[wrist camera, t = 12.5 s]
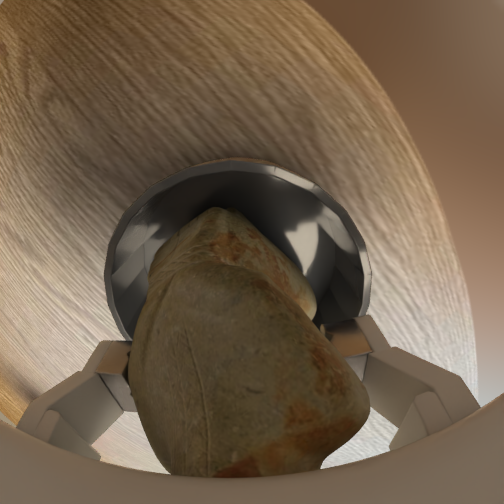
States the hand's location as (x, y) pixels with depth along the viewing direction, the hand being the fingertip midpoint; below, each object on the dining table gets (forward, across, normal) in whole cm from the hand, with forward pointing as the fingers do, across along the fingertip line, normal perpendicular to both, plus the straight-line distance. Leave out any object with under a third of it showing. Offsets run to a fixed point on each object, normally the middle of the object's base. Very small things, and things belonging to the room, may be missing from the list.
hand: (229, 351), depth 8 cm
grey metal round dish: (+7, 0, 0) cm, 7 cm away
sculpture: (+6, 0, 0) cm, 6 cm away
